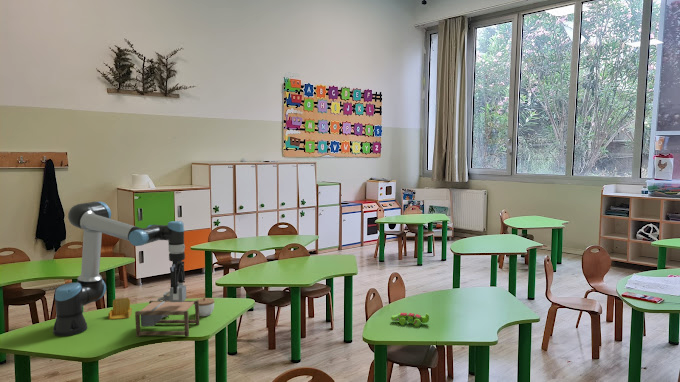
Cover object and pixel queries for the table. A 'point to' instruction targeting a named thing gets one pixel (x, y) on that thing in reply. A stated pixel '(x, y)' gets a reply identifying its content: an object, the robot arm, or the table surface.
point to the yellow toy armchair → (120, 309)
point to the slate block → (181, 293)
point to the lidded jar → (205, 306)
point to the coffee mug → (165, 297)
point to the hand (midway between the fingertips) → (178, 297)
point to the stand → (185, 321)
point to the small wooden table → (162, 306)
